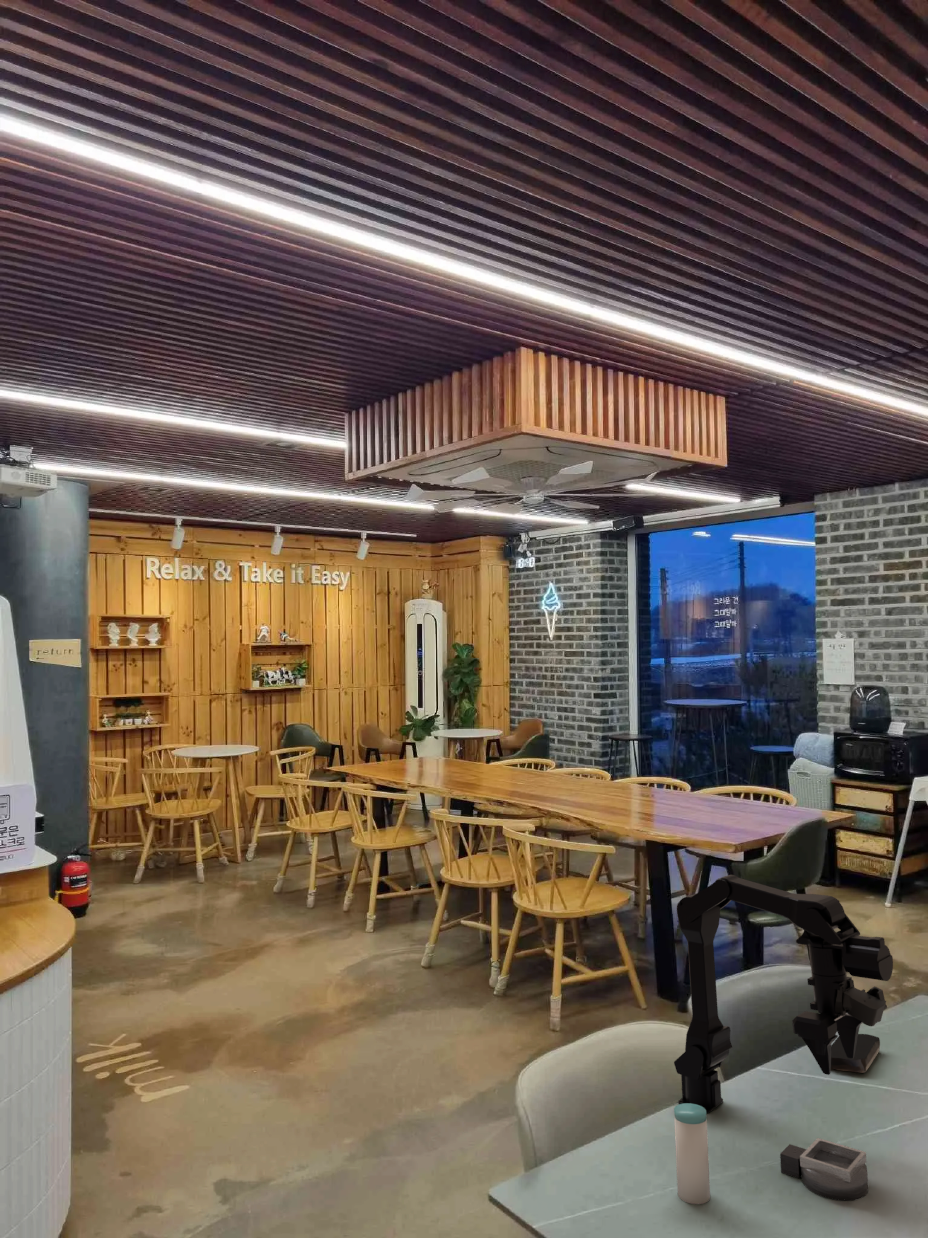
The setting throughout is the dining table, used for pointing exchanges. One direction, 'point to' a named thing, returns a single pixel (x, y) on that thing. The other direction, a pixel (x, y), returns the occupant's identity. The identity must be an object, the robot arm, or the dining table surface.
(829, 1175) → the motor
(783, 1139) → the dining table surface
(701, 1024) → the robot arm
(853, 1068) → the black sponge
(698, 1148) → the beige teal capped bottle
